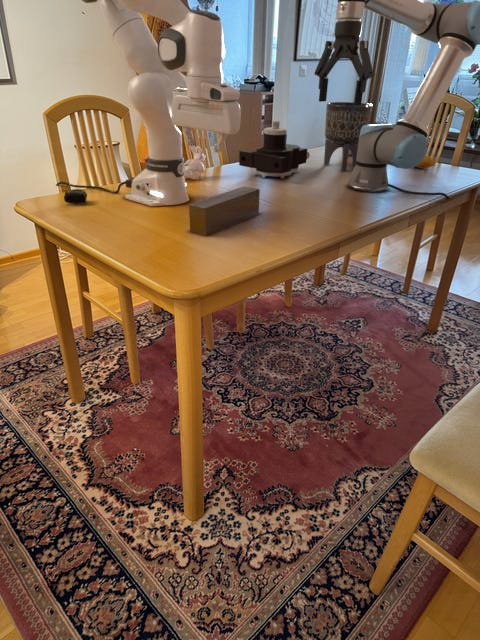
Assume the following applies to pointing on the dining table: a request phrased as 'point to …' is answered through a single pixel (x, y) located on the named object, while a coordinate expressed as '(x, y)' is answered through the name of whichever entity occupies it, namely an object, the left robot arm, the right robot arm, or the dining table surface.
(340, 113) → the planter
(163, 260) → the dining table surface
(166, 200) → the left robot arm
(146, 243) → the dining table surface
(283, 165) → the mechanical component
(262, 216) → the dining table surface
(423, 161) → the toy
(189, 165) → the figurine
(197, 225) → the bar
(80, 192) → the tape measure
